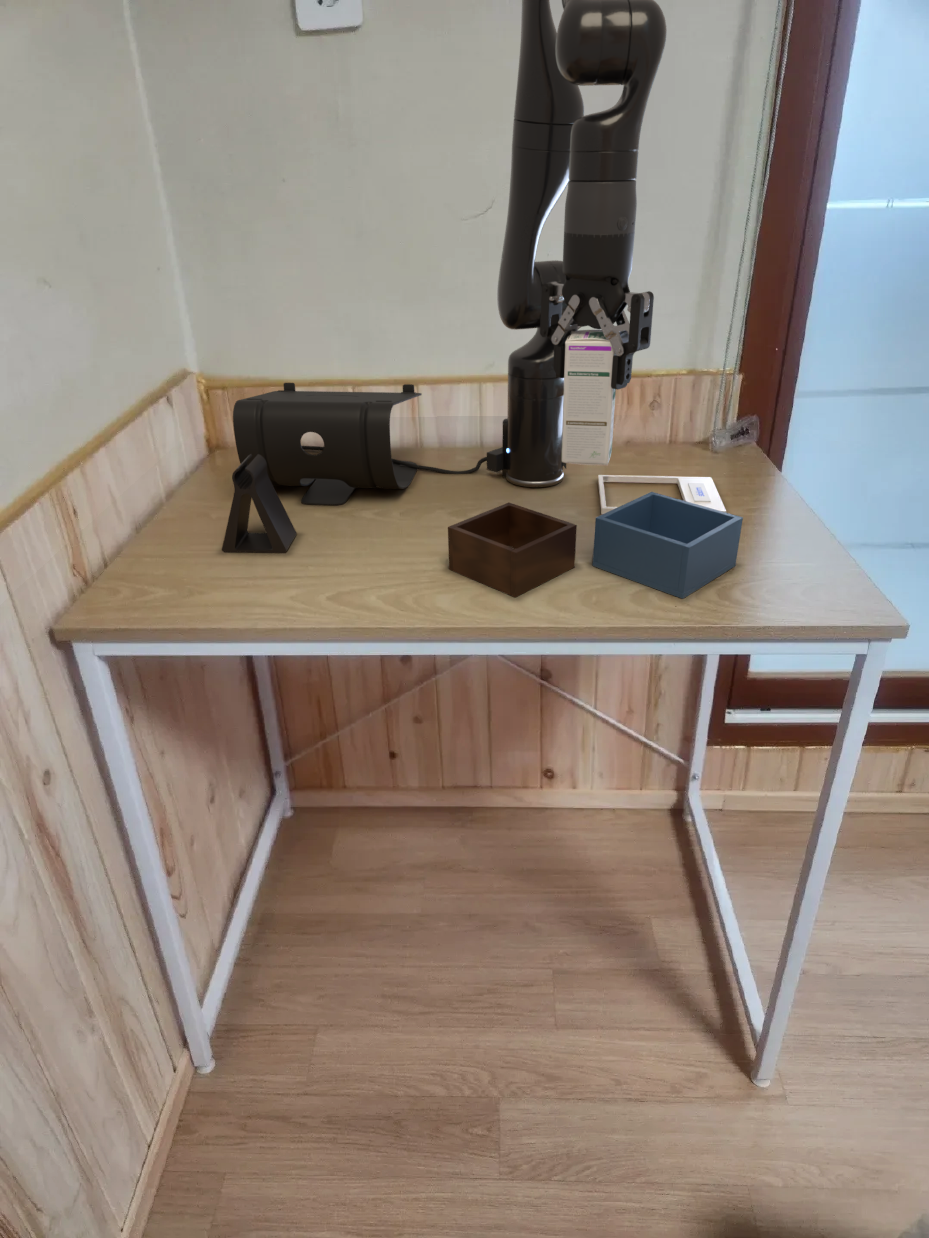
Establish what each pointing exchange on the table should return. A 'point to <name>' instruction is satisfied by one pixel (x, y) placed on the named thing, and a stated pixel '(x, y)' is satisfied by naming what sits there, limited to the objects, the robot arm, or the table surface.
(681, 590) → the blue tote
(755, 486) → the table surface
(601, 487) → the photo frame
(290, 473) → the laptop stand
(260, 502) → the phone stand
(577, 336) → the syrup box
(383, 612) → the table surface
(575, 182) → the robot arm
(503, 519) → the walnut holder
